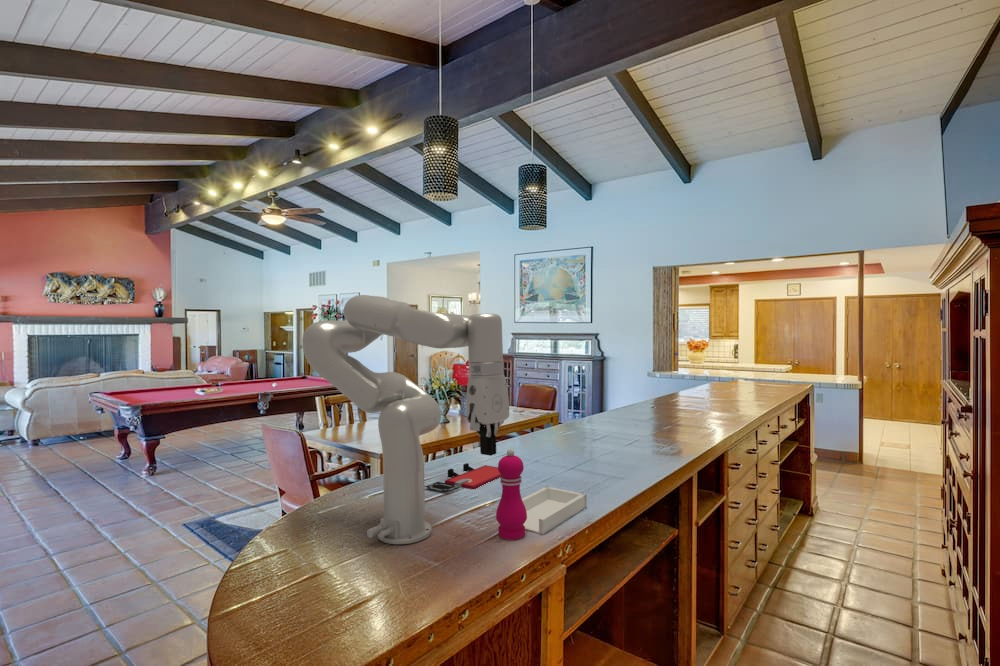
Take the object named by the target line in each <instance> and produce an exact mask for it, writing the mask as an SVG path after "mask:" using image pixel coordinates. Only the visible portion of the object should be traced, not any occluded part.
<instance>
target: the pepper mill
mask: <svg viewBox="0 0 1000 666" xmlns="http://www.w3.org/2000/svg"><path fill="white" fill-rule="evenodd" d="M497 467H498V471H499V473H500V474H501V475H502V476H501V477H500V478H499V479H500V481H499V483H500V484H501V488H502V490H501V496H500V500H499V503H498V506H497V508H496V512H495V514H496V515H495V519H496V522H497V523H498V524H499V526H498V527H497V528H498V536H499V538H501V539H504V540H507V539H508V540H507V541H512V540H513V541H515V540H516V539H517V540H520V539H523V538H524V537H525V535H526V530H525V526H524V525H523V524H524V523H525V521H526V520H527V512H526V508H525V505H524V503H523V501H522V496H521V488H520V487H521V484H522V481H523V480H522V478H523V477H522V475H521V474H522V473H523V472H524V468H525V467H524V462H523V460H522V459H521V457H519V456H518V455H515V450H514V449H513V448H509V449H507V451H506V455H504V456H503V457H501V458H500V459H499V461H498V463H497ZM522 537H523V538H522Z"/></svg>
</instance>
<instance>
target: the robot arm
mask: <svg viewBox="0 0 1000 666" xmlns="http://www.w3.org/2000/svg"><path fill="white" fill-rule="evenodd" d="M343 317H344V319H345V320H337V319H336V320H329V319H327V320H326V319H325V320H320V321H317V322H314V323H312V324H310V325H308V326H307V328H305V330H304V331H303V335H302V340H301V341H302V349H303V354H304V355H303V356H304V357H305V360H306V361H307V363H308V365H309V366H310V367H311V368H312V370H313V371H315V372H316V373H317V374H318V375H319V376H321V377H322V378H323V379H325V380H326V381H327V382H328V383H330V384H331V385H332V386H333V387H334V388H336V389H337V390H338V391H339V392H340V393H341V394H343V395H344V397H346V398H347V399H348V400H349V401H351V402H352V403H353V404H354V405H355V406H357V408H359V409H360V410H361V411H363V412H365V413H366V414H367V413H368V414H375V413H379V415H378V419H377V420H378V422H377V428H378V432H379V433H378V434H379V437H380V442H381V449H382V451H381V452H382V472H383V473H382V479H383V481H382V482H383V516H382V518H381V517H380V519H379V520H380V521H379V522H380V523H378V524H377V525H376V526H373V527H371V528H368V529H367V531H366V535H367V537H368V538H370V539H372V538H374V537H377V539H378V540H379V541H381V542H383V543H385V544H389V545H407V544H414V543H418V542H420V541H421V542H422V541H424V540H425V539H427V538H428V537H429V536H430V535H431V534H432V533H433V532H432V531H433V528H432V525H431V523H430V522H428V521H426V516H425V515H426V510H425V509H426V507H425V506H426V505H425V504H426V503H425V501H426V499H425V498H426V497H425V456H424V455H425V454H424V451H423V448H422V444H421V442H420V438H419V437H420V436H422V435H423V436H424V435H425V434H428V433H430V432H432V431H434V430H435V429H436V428H437V427H438V426H439V424H440V423H441V421H442V411H441V408H440V405H439V403H438V402H437V401H436V400H435V398H433V397H432V396H431V394H429V393H427V392H426V391H425V390H423V388H421V387H420V386H419V385H418V384H416V383H415V382H413V381H412V380H411V379H410V378H408V377H407V376H405V375H403V374H401V373H398V372H395V371H387V372H386V371H385V372H375V371H373V370H371V369H369V367H367V366H366V365H364V364H363V363H361V361H360V360H358V359H356V358H354V357H353V356H350V355H348V353H357V352H360V351H362V350H363V349H365V348H366V347H368V346H369V345H370V344H371V343H373V342H374V341H376V340H377V339H378V338H379V337H381V336H383V335H385V336H387V337H388V336H389V337H392V338H397V339H398V340H401V341H404V342H407V343H411V344H415V345H420V346H424V347H428V348H434V349H456V348H457V349H459V348H465V347H468V352H467V353H468V380H467V385H466V386H467V387H466V402H465V405H466V409H465V410H466V411H465V413H466V419H467V422H468V423H469V430H470V431H475V432H477V436H478V437H479V443H480V444H479V445H480V447H479V448H480V454H481V455H482V456H483V455H484V456H493V455H494V456H495V455H496V454H497V436H498V431H499V427H500V426H501V425H502V424H504V422H505V421H506V420H507V419H508V418H509V417H510V402H509V401H510V400H509V391H508V384H507V380H506V375H504V349H503V347H504V346H503V322H502V321H503V320H502V317H501V316H500V315H499V314H497V313H474V314H471V315H465V314H453V313H439V312H435V311H434V312H433V311H427V310H422V309H417V308H413V307H412V306H411V305H410V304H409V303H407V302H405V301H399V300H392V299H390V298H387V297H384V296H378V295H367V294H360V295H355V296H353V297H350V298H349V299H348V300H347V301H346V302H345V304H344V307H343Z"/></svg>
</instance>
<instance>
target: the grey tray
mask: <svg viewBox="0 0 1000 666" xmlns="http://www.w3.org/2000/svg"><path fill="white" fill-rule="evenodd" d="M521 498H522V497H521ZM522 501H523V503H524V505H525V508H526V512H527V520H526V521H525V523H524V524H523V525H524V526H525V531H527V530H528V532H531V531H532V532H531V533H534V532H535V533H536V534H538V533H539V534H538V535H542V536H545V534H547V533H549V532H550V531H552V530H553V529H555V528H557V527H558V526H560V525H561V524H563V523H564V522H566V521H568V520H569V519H571V518H573V517H574V516H575V515H578V514H579V513H580V512H582V511H584V510H585V509H586V508H587V505H588V504H587V494H586V493H580V492H576V491H571V490H567V489H562V488H558V487H553V486H552V487H550V486H545V487H542V488H540V489H538V490H537V491H535V492H533V493H531V494H528V495H526V496H524V497H523V498H522ZM584 508H585V509H584ZM581 510H582V511H581ZM535 533H534V534H535Z"/></svg>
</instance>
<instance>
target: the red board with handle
mask: <svg viewBox="0 0 1000 666" xmlns="http://www.w3.org/2000/svg"><path fill="white" fill-rule="evenodd" d="M462 467H463V469H462V471H463V472H464V471H466V472H464V473H461V474H459V473H457V472H454V471H455V470H454V468H449V469H447V479H445V480H444V482H443V481H436V482H434V483H431V484H428V485H424V488H429V489H431V490H437V491H441V492H445V493H446V492H449V491H451V490H454V489H461V488H464V489H468V490H472V489H475V490H477V489H479V488H481V487H483V486H485V485H487V484H486V483H488V482H490V483H492V482H494V481H496V480H498V479H500V478H499V477H501V476H502V475H501V474H500V473H499V471H498V466H497V467H496V466H492V465H485V464H484V465H482V466H480V467H478V468H473V467H471V466H470V464H469V463H468V462H467V463H466V462H465V463H463V465H462ZM467 470H469V471H467ZM452 476H454V477H452ZM448 477H451V478H448ZM497 478H498V479H497ZM495 479H496V480H495ZM493 480H494V481H493ZM491 481H492V482H491ZM484 484H485V485H484ZM488 484H489V483H488ZM482 485H483V486H482ZM480 486H481V487H480ZM478 487H479V488H478ZM476 488H477V489H476Z"/></svg>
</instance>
